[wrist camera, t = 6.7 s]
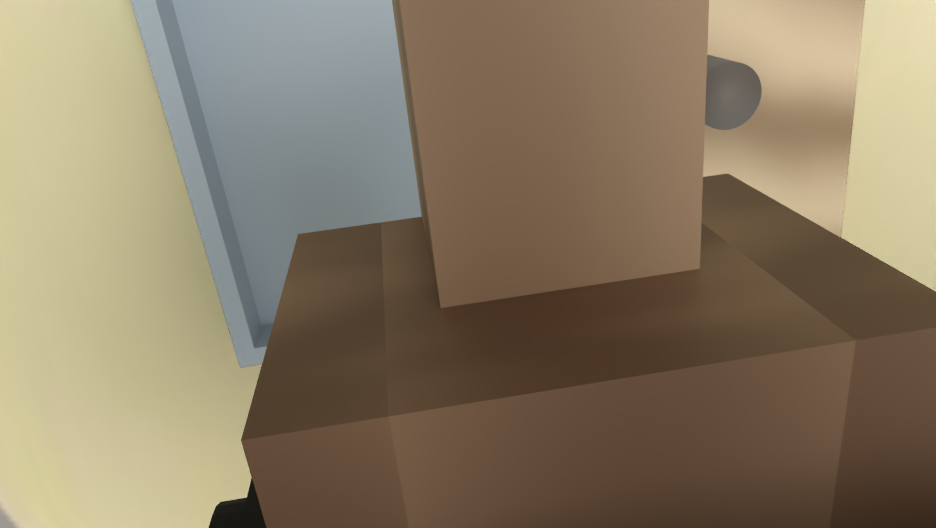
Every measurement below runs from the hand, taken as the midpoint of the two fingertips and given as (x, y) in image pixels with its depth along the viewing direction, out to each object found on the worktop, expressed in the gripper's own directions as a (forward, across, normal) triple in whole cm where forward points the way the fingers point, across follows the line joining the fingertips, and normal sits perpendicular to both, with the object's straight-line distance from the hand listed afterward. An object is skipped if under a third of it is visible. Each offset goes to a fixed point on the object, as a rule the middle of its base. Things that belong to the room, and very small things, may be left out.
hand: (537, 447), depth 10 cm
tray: (+18, +3, 0) cm, 18 cm away
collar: (0, 0, -1) cm, 2 cm away
